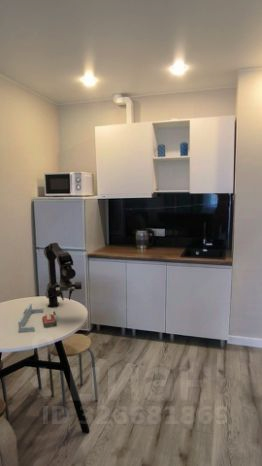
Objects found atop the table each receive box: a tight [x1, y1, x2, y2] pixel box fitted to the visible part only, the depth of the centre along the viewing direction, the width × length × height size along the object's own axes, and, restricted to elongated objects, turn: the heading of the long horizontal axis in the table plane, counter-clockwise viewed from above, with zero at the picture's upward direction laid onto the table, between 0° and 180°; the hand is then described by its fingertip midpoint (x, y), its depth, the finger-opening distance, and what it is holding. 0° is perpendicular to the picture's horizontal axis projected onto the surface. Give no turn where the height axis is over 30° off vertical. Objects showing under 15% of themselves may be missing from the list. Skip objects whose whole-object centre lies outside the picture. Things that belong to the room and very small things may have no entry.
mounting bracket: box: [17, 303, 44, 333], centre depth 186 cm, size 26×8×7 cm, turn 5°
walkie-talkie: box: [41, 310, 59, 329], centre depth 187 cm, size 9×4×20 cm
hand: (66, 300), depth 186 cm, fingers open, 3 cm apart
